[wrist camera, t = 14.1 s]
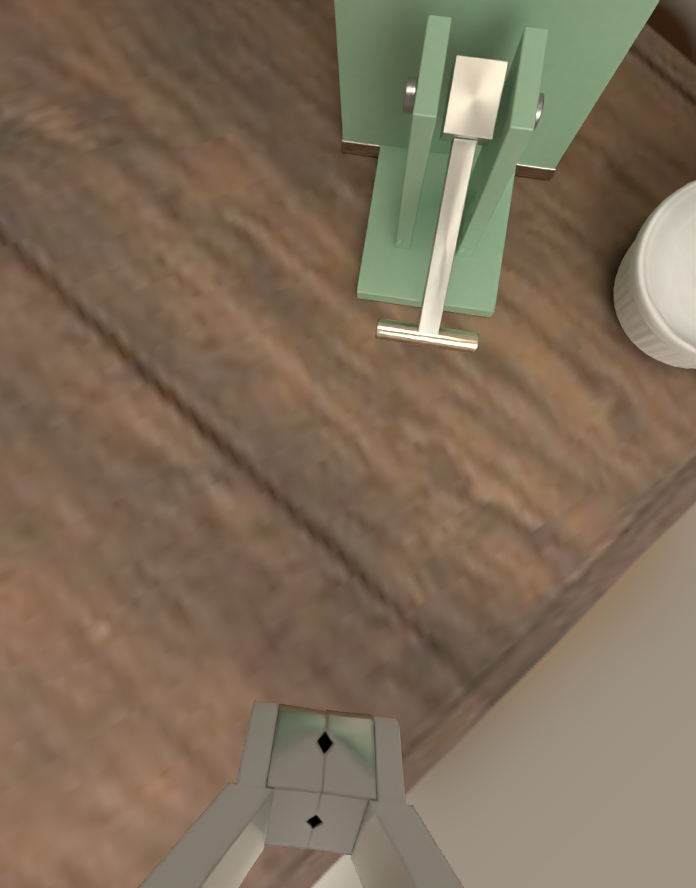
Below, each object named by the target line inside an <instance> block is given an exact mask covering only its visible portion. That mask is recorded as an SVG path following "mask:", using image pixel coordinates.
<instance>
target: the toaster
mask: <svg viewBox="0 0 696 888" xmlns="http://www.w3.org/2000/svg"><path fill="white" fill-rule="evenodd" d="M659 1H660V0H334V5H335V21H336V36H337V52H338V67H339V83H340V98H341V113H342V129H343V135H342V152H343V153H350V154H357V155H365V156H372V157H379V151H380V147H381V145H383V146H387V147H388V146H391V147H396V148H397V147H398V148H406V149H408V144H409V137H410V129H411V122H412V115H409V114H403V103H404V95H405V88H406V82H407V77H408V76H413V77H419V70H420V64H421V58H422V52H423V45H424V39H425V33H426V27H427V20H428V16H429V15H436V16H444V17H451V18H452V23H451V29H450V35H449V42H448V48H447V54H446V61H445V67H444V73H443V80H442V86H441V92H440V99H439V105H438V112H437V118H436V123H435V128H434V133H433V138H432V142H431V147H430V152H434V153H435V152H436V153H442V154H449V152H450V147H451V142H450V141H443V140H440V139H439V138H440V133H441V127H442V121H443V116H444V110H445V104H446V98H447V93H448V87H449V81H450V76H451V70H452V67H453V64H454V61H455V58H456V55H463V56H471V57H479V58H487V59H495V60H503V61H508V62H509V65H508V70H507V74H506V78H507V75H508V73H509V70H510V67H511V64H512V62H513V59H514V56H515V53H516V50H517V48H518V45H519V42H520V39H521V36H522V34H523V31H524V29H525V27H534V28H542V29H548V38H547V45H546V52H545V59H544V65H543V72H542V79H541V86H540V93H544V105H543V110H542V113H541V117H540V120H539V123H538V125H537V127H536V129H535V130H534V131H533V133H532V135H531V137H530V139H529V141H528V143H527V145H526V147H525V149H524V151H523V153H522V155H521V157H520V159H519V161H518V163H517V165H516V170H515V176H521V177H529V178H536V179H544V180H550V179H551V177H552V176H553V174H554V172H555V171H556V168H557V164H558V162H559V161H560V159H561V158H562V156H563V154H564V153H565V151H566V150H567V148H568V146H569V145H570V143H571V142H572V140H573V138H574V137H575V135H576V134H577V132H578V130H579V129H580V127H581V126H582V124H583V122H584V121H585V119H586V118H587V116H588V114H589V113H590V111H591V110H592V108H593V106H594V105H595V103H596V102H597V100H598V98H599V97H600V95H601V94H602V92H603V90H604V89H605V87H606V86H607V84H608V82H609V81H610V79H611V78H612V76H613V74H614V73H615V71H616V70H617V68H618V66H619V65H620V63H621V62H622V60H623V58H624V57H625V55H626V54H627V52H628V50H629V49H630V47H631V45H632V44H633V42H634V41H635V39H636V37H637V36H638V34H639V33H640V31H641V29H642V28H643V26H644V25H645V23H646V21H647V20H648V18H649V17H650V15H651V13H652V12H653V10H654V8H655V7H656V5H657V4H658V2H659ZM505 81H506V79H505ZM481 148H482V146H481V145H477V147H476V151H475V156H474V158H478V156H479V153H480V151H481Z"/></svg>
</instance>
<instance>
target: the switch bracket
mask: <svg viewBox="0 0 696 888" xmlns="http://www.w3.org/2000/svg"><path fill="white" fill-rule="evenodd" d="M451 23H452V18H451V17H444V16H436V15H429V16H428V20H427V27H426V33H425V39H424V45H423V52H422V58H421V64H420V70H419V77H413V76H408V77H407V82H406V88H405V95H404V103H403V114H409V115H412V122H411V129H410V137H409V144H408V149H406V148H398V147H397V148H396V147H391V146H388V147H387V146H383V145H381V147H380V151H379V157H378V163H377V169H376V176H375V182H374V188H373V194H372V200H371V206H370V212H369V219H368V225H367V231H366V237H365V243H364V249H363V255H362V261H361V268H360V274H359V280H358V286H357V298H360V299H367V300H374V301H381V302H387V303H394V304H401V305H408V306H415V307H421V304H422V299H423V293H424V288H425V283H426V277H427V272H428V266H429V261H430V255H431V250H432V245H433V239H434V234H435V228H436V223H437V217H438V212H439V207H440V201H441V196H442V190H443V185H444V179H445V174H446V169H447V163H448V158H449V154H442V153H436V152H435V153H434V152H430V147H431V142H432V138H433V133H434V128H435V123H436V118H437V112H438V105H439V99H440V92H441V86H442V80H443V73H444V67H445V61H446V54H447V48H448V42H449V35H450V29H451ZM547 38H548V29H542V28H534V27H525V29H524V31H523V34H522V36H521V39H520V42H519V45H518V48H517V50H516V53H515V56H514V59H513V62H512V64H511V67H510V70H509V73H508V75H507V78H506V81H505V84H504V88H503V93H502V98H501V102H500V107H499V112H498V116H497V121H496V126H495V130H494V135H493V139H492V140H491V141H490V142H488V143H487V144H486V145H485V146H482V148H481V151H480V153H479V156H478V158H474V161H473V166H472V171H471V176H470V181H469V186H468V191H467V196H466V201H465V206H464V210H463V215H462V220H461V225H460V230H459V235H458V240H457V245H456V250H455V255H454V260H453V264H452V269H451V274H450V279H449V284H448V289H447V294H446V299H445V304H444V309H443V311H449V312H456V313H462V314H469V315H476V316H483V317H491V315H492V314H493V313H494V311H495V305H496V298H497V292H498V285H499V278H500V271H501V265H502V258H503V251H504V244H505V238H506V231H507V224H508V217H509V210H510V204H511V197H512V190H513V183H514V177H515V170H516V165H517V163H518V161H519V159H520V157H521V155H522V153H523V151H524V149H525V147H526V145H527V143H528V141H529V139H530V137H531V135H532V133H533V131H534V130H535V129H536V127H537V125H538V123H539V120H540V117H541V113H542V110H543V105H544V93H540V86H541V79H542V72H543V65H544V59H545V52H546V45H547Z"/></svg>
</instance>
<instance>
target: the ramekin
mask: <svg viewBox="0 0 696 888" xmlns="http://www.w3.org/2000/svg"><path fill="white" fill-rule="evenodd" d="M613 290H614V296H613V298H614V307H615V310H616V314H617V318H618V320H619V322H620V325H621V327H622V328H623V330H624V332H625V334H626V335H627V336H628V337H629V338H630V340H631V341H632V343H634V344H635V345H636V346H637V347H638V348H639V349H640V350H642V351H643V352H644V353H645V354H647V355H649V356H651V357H653V358H654V359H656V360H659V361H661V362H663V363H665V364H669V365H672V366H674V367H682V368H696V180H695V181H693V182H691V183H688V184H687V185H685V186H683V187H682V188H680V189H678V190H677V191H676V192H674V193H673V194H671V195H670V196H669V197H667V198H666V199H665V200H663V201H662V202H661V203H660V204H659V206H658V207H657V208H656V209H655V210H654V211H653V212H652V213H651V214H650V215H649V217H648V218H647V219H646V221H645V222H644V224H643V225H642V227H641V229H640V231H639V232H638V235H637V237H636V239H635V241H634V242H633V244H632V245H631V247H630V248H629V249H628V251H627V253H626V255H625V256H624V258H623V259H622V262H621V265H620V266H619V268H618V273H617V275H616V277H615V285H614V289H613Z"/></svg>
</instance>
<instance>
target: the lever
mask: <svg viewBox="0 0 696 888" xmlns="http://www.w3.org/2000/svg"><path fill="white" fill-rule="evenodd" d="M508 65H509V62H508V61H503V60H495V59H487V58H479V57H471V56H463V55H456V58H455V61H454V64H453V67H452V70H451V76H450V81H449V87H448V93H447V98H446V104H445V110H444V116H443V121H442V127H441V133H440V138H439V139H440V140H443V141H450V142H451V147H450V152H449V158H448V163H447V169H446V174H445V179H444V185H443V190H442V196H441V201H440V207H439V212H438V217H437V223H436V228H435V234H434V239H433V245H432V250H431V255H430V261H429V266H428V272H427V277H426V283H425V288H424V293H423V299H422V304H421V310H420V315H419V321H418V324H413V323H407V322H400V321H393V320H386V319H378V323H377V329H376V337H375V338H376V339H381V340H387V341H394V342H401V343H408V344H414V345H421V346H428V347H434V348H441V349H448V350H454V351H461V352H468V353H475V352H476V350H477V347H478V343H479V334H478V333H474V332H468V331H461V330H454V329H447V328H440V323H441V318H442V314H443V309H444V304H445V299H446V294H447V289H448V284H449V279H450V274H451V269H452V264H453V260H454V255H455V250H456V245H457V240H458V235H459V230H460V225H461V220H462V215H463V210H464V206H465V201H466V196H467V191H468V186H469V181H470V176H471V171H472V166H473V161H474V156H475V151H476V147H477V145H481V146H485V145H486V144H487V143H488V142H490V141H491V140H492V139H493V135H494V130H495V126H496V121H497V116H498V112H499V107H500V102H501V98H502V93H503V88H504V84H505V79H506V74H507V70H508Z"/></svg>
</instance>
